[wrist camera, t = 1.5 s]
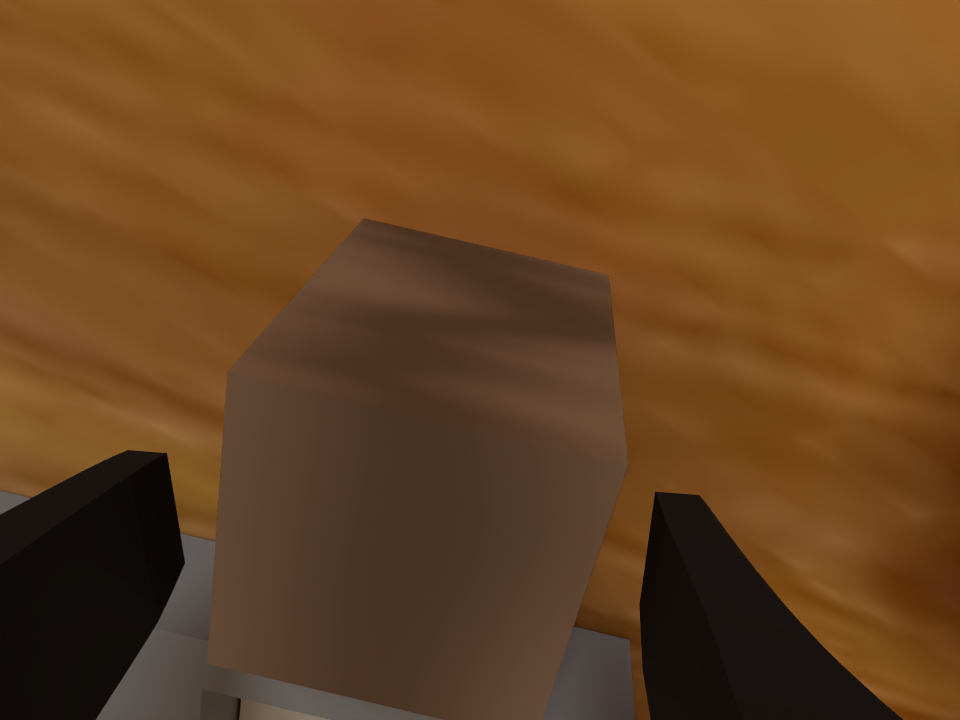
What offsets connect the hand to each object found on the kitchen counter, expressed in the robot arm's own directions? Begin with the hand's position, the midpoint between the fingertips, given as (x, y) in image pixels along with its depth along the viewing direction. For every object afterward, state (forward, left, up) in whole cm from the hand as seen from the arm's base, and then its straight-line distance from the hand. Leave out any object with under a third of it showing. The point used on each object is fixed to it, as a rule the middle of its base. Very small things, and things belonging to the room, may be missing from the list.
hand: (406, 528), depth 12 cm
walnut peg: (0, 0, -6) cm, 6 cm away
